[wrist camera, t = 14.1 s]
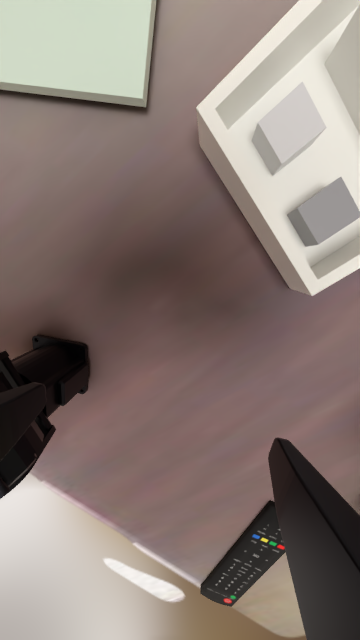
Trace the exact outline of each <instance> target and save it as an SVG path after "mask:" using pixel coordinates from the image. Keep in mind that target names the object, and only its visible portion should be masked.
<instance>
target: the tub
mask: <svg viewBox="0 0 360 640" xmlns="http://www.w3.org/2000/svg"><path fill="white" fill-rule="evenodd" d="M196 110H197V122H198V134H199V145H200V147H201V149H202V150H203V152H204V153H205V155H206V156H207V158H208V160H209V161H210V163H211V164H212V166H213V168H214V169H215V171H216V172H217V174H218V175H219V177H220V179H221V180H222V182H223V183H224V185H225V187H226V188H227V190H228V191H229V193H230V195H231V196H232V198H233V199H234V201H235V202H236V204H237V206H238V207H239V209H240V210H241V212H242V214H243V215H244V217H245V218H246V220H247V221H248V223H249V225H250V226H251V228H252V229H253V231H254V233H255V234H256V236H257V237H258V239H259V241H260V242H261V244H262V245H263V247H264V248H265V250H266V252H267V253H268V255H269V256H270V258H271V260H272V261H273V263H274V264H275V266H276V267H277V269H278V271H279V272H280V274H281V275H282V277H283V279H284V280H285V282H286V283H287V285H288V287H289V288H290V289H292V290H295V291H298V292H301V293H304V294H307V295H310V296H313V295H315V294H316V293H318V292H320V291H321V290H323V289H325V288H327V287H328V286H330V285H332V284H333V283H335V282H337V281H338V280H340V279H342V278H344V277H345V276H347V275H349V274H350V273H352V272H354V271H355V270H357V269H359V268H360V0H299V1H298V2H297V3H296V4H295V5H294V6H293V7H292V9H291V10H290V11H289V12H288V13H287V14H286V15H285V16H284V17H283V18H282V19H281V20H280V21H279V22H278V23H277V24H276V25H275V26H274V27H273V28H272V29H271V30H270V31H269V32H268V33H267V35H266V36H265V37H264V38H263V39H262V40H261V41H260V42H259V43H258V44H257V45H256V46H255V47H254V48H253V49H252V50H251V51H250V52H249V53H248V54H247V55H246V56H245V57H244V58H243V59H242V60H241V62H240V63H239V64H238V65H237V66H236V67H235V68H234V69H233V70H232V71H231V72H230V73H229V74H228V75H227V76H226V77H225V78H224V79H223V80H222V81H221V82H220V83H219V84H218V85H217V86H216V88H215V89H214V90H213V91H212V92H211V93H210V94H209V95H208V96H207V97H206V98H205V99H204V100H203V101H202V102H201V103H200V104H199V105H198V106H197V107H196Z"/></svg>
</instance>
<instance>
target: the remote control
mask: <svg viewBox="0 0 360 640" xmlns="http://www.w3.org/2000/svg"><path fill="white" fill-rule="evenodd" d="M285 552H286V551H285V547H284V543H283V539H282V535H281V530H280V526H279V522H278V517H277V512H276V507H275V502H273V501H270V502H269V503H268V504H267V506H266V507H265V508H264V509H263V510H262V512H261V513H260V514H259V515H258V517H257V518H256V519H255V520H254V521H253V523H252V524H251V525H250V526H249V528H248V529H247V530H246V531H245V533H244V534H243V535H242V536H241V537H240V539H239V540H238V541H237V542H236V544H235V545H234V546H233V547H232V549H231V550H230V551H229V552H228V553H227V555H226V556H225V557H224V558H223V560H222V561H221V562H220V563H219V565H218V566H217V567H216V568H215V569H214V571H213V572H212V573H211V574H210V576H209V577H208V578H207V579H206V581H205V582H204V583H203V584H202V585H201V594H202V595H204V596H205V597H207V598H208V599H210V600H212V601H214V602H217V603H220V604H223V605H227V606H232V605H233V604H234V603H235V602H236V601H237V600H238V599H239V598H240V597H241V596H242V595H243V594H244V593H245V592H246V591H247V590H248V589H249V588H250V587H251V586H252V585H253V584H254V583H255V582H256V581H257V580H258V579H259V578H260V577H261V576H262V575H263V574H264V573H265V572H266V571H267V570H268V569H269V568H270V567H271V566H272V565H273V564H274V563H275V562H276V561H277V560H278V559H279V558H280V557H281V556H282V555H283V554H284V553H285Z"/></svg>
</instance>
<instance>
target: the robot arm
mask: <svg viewBox="0 0 360 640" xmlns="http://www.w3.org/2000/svg"><path fill="white" fill-rule="evenodd" d="M32 340H33V350H31V351H29V352H27V353H25V354H23V355H21V356H19V357H17V358H15V359H13V360H10V359H9V357H8V356H9V355H8V353H7V352H6V351H3V352H1V353H0V498H2V497H3V496H5V495H6V494H7V493H9V492H10V491H11V490H12V489H13V488H15V487H16V485H18V484H19V483H20V482H21V481H22V480H23V479H24V478H25V477H26V475H27V474H28V473H29V472H30V470H31V469H32V468H33V466H34V465H35V463H36V461H37V460H38V458H39V456H40V455H41V453H42V452H43V450H44V448H45V447H46V445H47V443H48V442H49V440H50V439H51V437H52V435H53V434H54V432H55V431H56V429H55V427H54V426H53V425H51V423H50V422H49V420H48V417H49V416H50V415H51V414H52V413H53V412H54V411H55V410H56V409H57V408H58V407H59V406H60V405H61V406H64V405H65V404H67V403H68V402H69V401H70V400H71V399H72V398H73V397H74V396H75V395H76V394H77V393H80V394H84V393H85V392H86V391H87V389H88V363H87V346H86V345H85V344H82V343H77V342H72V341H67V340H62V339H57V338H52V337H47V336H42V335H36V336H34V337H33V339H32ZM81 347H82V348H83V349H82V348H81ZM268 460H269V467H270V474H271V481H272V487H273V494H274V500H275V507H276V512H277V517H278V522H279V526H280V530H281V535H282V539H283V543H284V547H285V551H286V555H287V559H288V564H289V568H290V572H291V576H292V580H293V584H294V588H295V593H296V597H297V601H298V605H299V609H300V613H301V617H302V621H303V626H304V630H305V634H306V638H307V640H360V516H359V514H358V513H357V512H356V511H355V510H354V509H353V508H352V507H351V506H350V505H349V504H348V503H347V502H346V501H345V500H344V499H343V497H342V496H341V495H340V494H339V493H338V492H337V491H336V490H335V489H334V488H333V487H332V486H331V485H330V484H329V483H328V482H327V480H326V479H325V478H324V477H323V476H322V475H321V474H320V473H319V472H318V471H317V470H316V469H315V468H314V467H313V466H312V465H311V463H310V462H309V461H308V460H307V459H306V458H305V457H304V456H303V455H302V454H301V453H300V452H299V451H298V450H297V449H296V448H295V446H294V445H293V444H292V443H291V442H290V441H288V440H286V439H282V438H275V439H274V442H273V444H272V447H271V450H270V452H269V457H268Z"/></svg>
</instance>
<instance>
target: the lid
mask: <svg viewBox="0 0 360 640" xmlns="http://www.w3.org/2000/svg"><path fill="white" fill-rule="evenodd" d="M155 10H156V0H0V89H1V90H10V91H18V92H26V93H34V94H42V95H50V96H59V97H67V98H75V99H83V100H91V101H100V102H108V103H116V104H124V105H132V106H141V107H146V103H147V92H148V82H149V72H150V61H151V51H152V41H153V30H154V20H155Z"/></svg>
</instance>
